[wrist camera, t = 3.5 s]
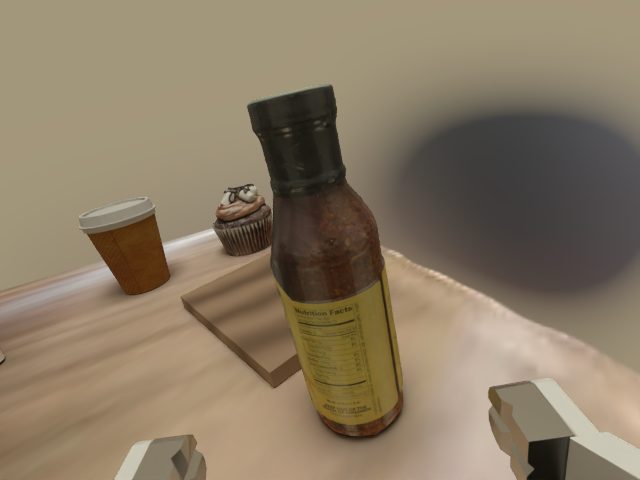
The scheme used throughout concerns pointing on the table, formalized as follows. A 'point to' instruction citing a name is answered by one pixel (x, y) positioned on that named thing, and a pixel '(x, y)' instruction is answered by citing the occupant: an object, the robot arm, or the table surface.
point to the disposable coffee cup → (128, 243)
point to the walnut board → (248, 319)
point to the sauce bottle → (328, 265)
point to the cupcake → (243, 221)
